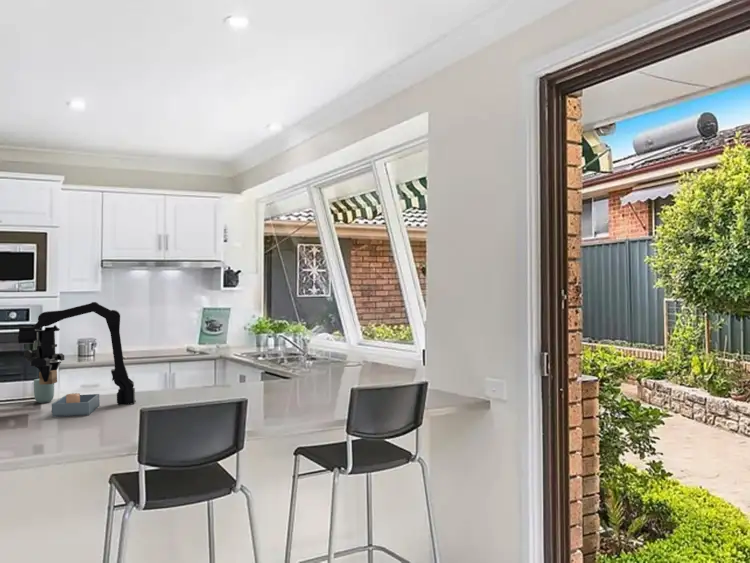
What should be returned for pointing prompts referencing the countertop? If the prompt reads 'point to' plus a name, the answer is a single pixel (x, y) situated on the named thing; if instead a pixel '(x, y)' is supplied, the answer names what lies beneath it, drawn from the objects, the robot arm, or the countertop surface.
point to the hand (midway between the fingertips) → (48, 380)
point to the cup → (43, 392)
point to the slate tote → (76, 406)
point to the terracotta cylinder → (73, 398)
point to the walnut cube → (51, 379)
